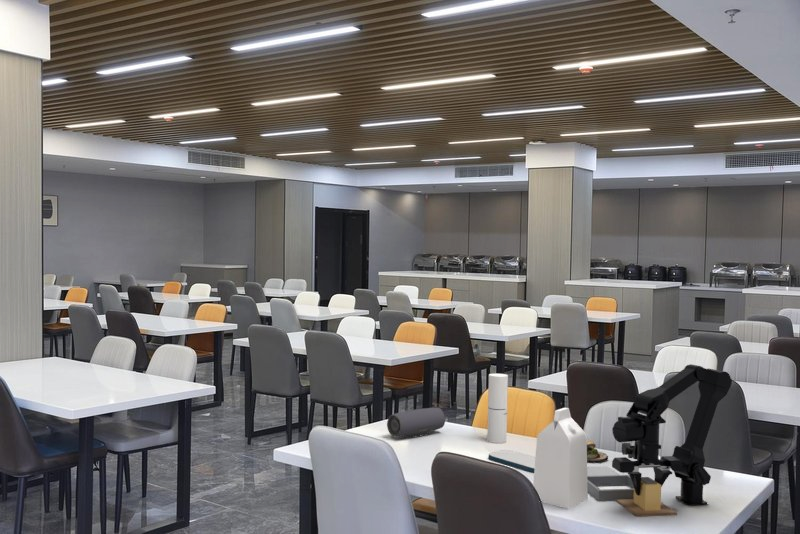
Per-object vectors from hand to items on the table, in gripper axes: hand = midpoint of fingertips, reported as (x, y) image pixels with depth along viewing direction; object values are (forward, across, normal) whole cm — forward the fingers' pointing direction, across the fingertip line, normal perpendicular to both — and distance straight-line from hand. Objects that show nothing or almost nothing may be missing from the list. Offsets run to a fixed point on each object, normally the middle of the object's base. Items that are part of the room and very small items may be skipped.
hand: (646, 494), depth 207 cm
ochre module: (+3, 0, 0) cm, 3 cm away
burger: (+4, -5, -50) cm, 50 cm away
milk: (+4, +22, -10) cm, 24 cm away
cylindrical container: (+4, +21, -76) cm, 79 cm away
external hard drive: (+4, +21, -46) cm, 51 cm away
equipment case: (+4, +3, -21) cm, 22 cm away
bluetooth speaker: (+4, +50, -87) cm, 100 cm away
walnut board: (+4, 0, 0) cm, 4 cm away
